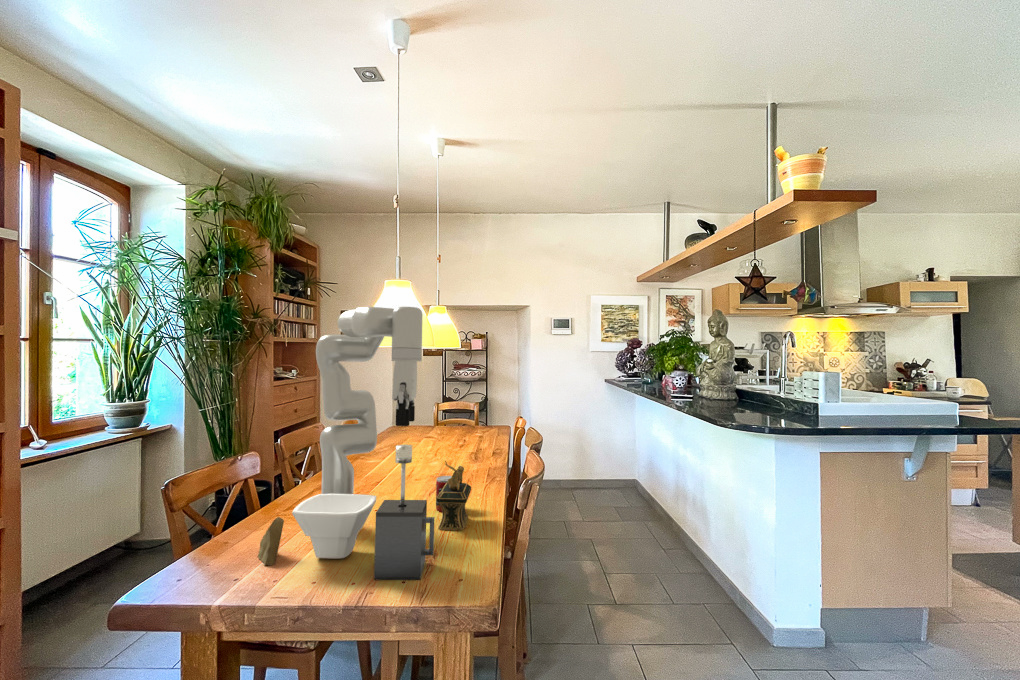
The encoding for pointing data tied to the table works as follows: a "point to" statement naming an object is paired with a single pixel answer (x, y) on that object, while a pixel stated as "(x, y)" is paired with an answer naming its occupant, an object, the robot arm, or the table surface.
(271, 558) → the rock
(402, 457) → the plunger
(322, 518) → the bowl
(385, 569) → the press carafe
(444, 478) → the canned food
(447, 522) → the decorative box
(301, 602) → the table surface
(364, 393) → the robot arm
